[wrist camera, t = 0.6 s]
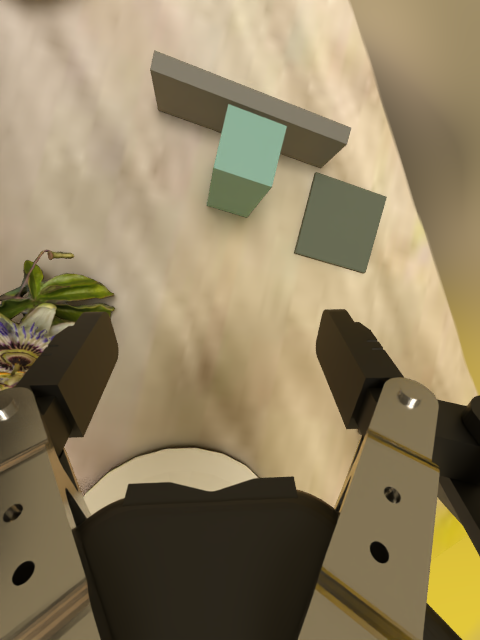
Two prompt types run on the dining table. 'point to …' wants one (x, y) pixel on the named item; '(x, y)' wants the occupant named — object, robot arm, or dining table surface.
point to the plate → (169, 473)
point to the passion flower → (41, 315)
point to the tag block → (245, 161)
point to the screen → (217, 92)
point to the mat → (340, 223)
